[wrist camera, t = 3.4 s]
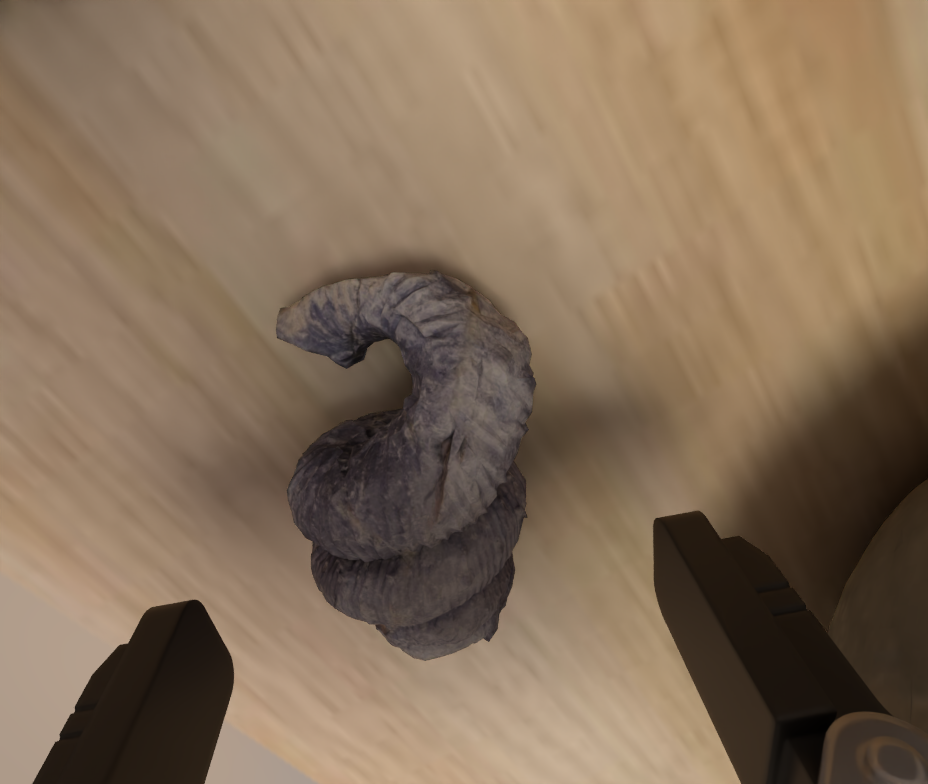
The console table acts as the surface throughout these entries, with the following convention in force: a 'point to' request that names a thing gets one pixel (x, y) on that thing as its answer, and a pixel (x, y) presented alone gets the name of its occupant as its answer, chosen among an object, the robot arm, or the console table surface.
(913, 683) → the bowl
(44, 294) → the console table surface
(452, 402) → the seashell
